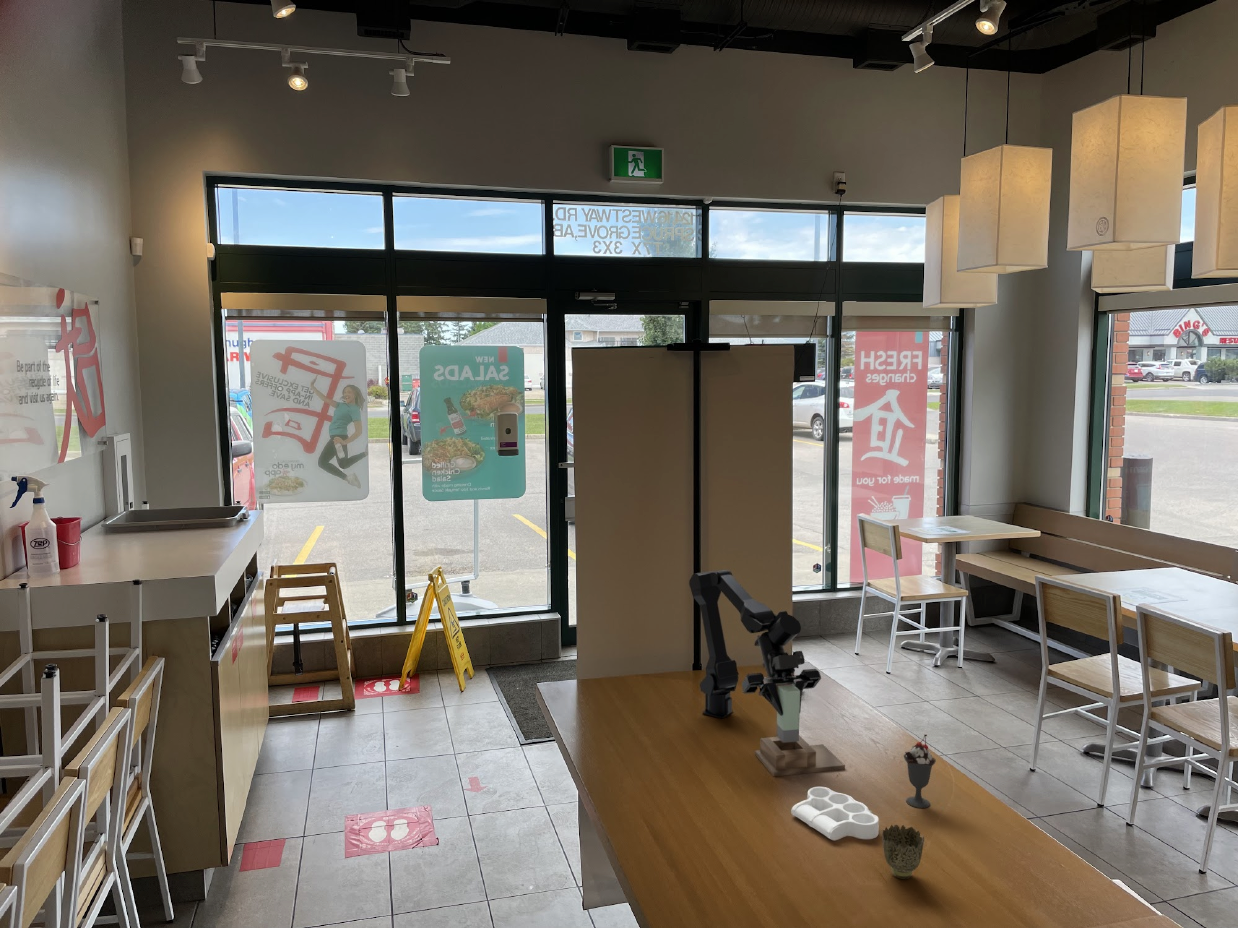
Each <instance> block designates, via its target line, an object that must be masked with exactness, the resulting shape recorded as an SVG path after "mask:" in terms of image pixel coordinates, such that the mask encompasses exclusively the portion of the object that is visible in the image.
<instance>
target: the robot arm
mask: <svg viewBox="0 0 1238 928" xmlns="http://www.w3.org/2000/svg"><path fill="white" fill-rule="evenodd" d="M688 585H689V588H690V591H691V596H692V598H693V599H694V600H695V601H696V603H697V604H698V605H699V606H700V614H701V619H702V624H703V628H704V634H705V640H706V646H707V651H708V656H709V657H708V659H707V660H708V661H707V663H706V667H705V677H704V678H703V679H702V680H701V681H700V682H699V689H700V692H702V693H703V694H705V695H704V697H705V698H704V700H705V701H704V710H703V711H702V714H703V715H706V716H710V717H714V718H718V719H724V718H726V717H727V716H729V715H730V714H732V713H733V712H734V710H733V705H732V704H733V698H732V697H731V692H736V688H737V685H738V682H739V675H740V674H739V671H738V667H737V662H736V660H735V659H733V660H732V659H731V658H730V657H729V655H728V652H727V646H726V640H725V635H724V629H723V624H722V619H721V614H720V609H719V608H720V607H719V599H720V597H721V593H722V594H723V595H724V596H725V597H726V599H728V601H729V602H730V603H731V604H732V606H733V607H735V609H736V610H737V611H738V612H739V614H740V622H741V623H742V625H743V626H744V628H745V630H746V631H747V632H748V633H749V634H756V633H760V634H761V635H757V638H756V640H755V641H754V645H753V646H755V647H759V649H760V652H761V657H762V660H763V663H762V667H763V669H765V671H766V674H767V676H764V674H763V673H762V672H754V673H753V672H751V673H747V674H746V676H745V678H744V679H743V681H742V683H741V688H742V691H743V692H742V693H743V694H755V693H756V692H757V691H758V689H759V691H758V696H762V697H763V698H765V699H766V700H767V701H768V703H769V704H770V705H771V706H772V707H773V708H774V709H775V711H776V713H777V712H778V713H779V714H780V716H782V715H783V710H782V706H781V703H780V700H779V697H778V694H777V689H776V685H783V684H791V685H794V686H795V687H796V688H798V689H799V690H800V712H801V710H802V707H801V706H802V694H803V690H809V689H814V688H815V687H816V686H817V685H818V684H819V682H820V681H821V679H822V676H821V673H820V671H819V670H818V669H816V668H807V669H806V668H805V669H802V670H801V672H800V673H799V674H796V675H795V671H796V669H799V667H800V666H801V665H804V664H805V663H806V662H805V661H806V660H805V656H804V653H803V650H796V651H793V652H792V654H789V653H788V651H787V652H786V651H785V646H787V645H788V644H790V643H791V642H792V640H793V639H795V637H796V636H798V635H799V634H800V633H801V629H802V625H801V623H800V621H799V620H797V618H796V617H794V616H793V615H790V614H789V613H788V611H787V610H782V611H779V612H778V613H777V614H776V613H774V611H773V610H772V609H771V608H770V607H768V606H767V605H766V604H764V603H762V602H760V601H757V600H755V599H753V597H752V596H751V595H750V594H749V593H748V592H747V590H746V589H745V588H744V587H743V586H742V585H741V584H740V582H738V581H737V579H736V578H735V577H734V576H733V574H732V571H730V570H728V569H723V570H722V569H721V570H715V571H714V570H713V571H712V570H710V571H704V572H697V573H693V574H692V575H691V577H690V579H689V581H688ZM761 632H762V633H761ZM791 673H794V675H793V676H792V674H791Z"/></svg>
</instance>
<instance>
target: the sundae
mask: <svg viewBox="0 0 1238 928" xmlns="http://www.w3.org/2000/svg"><path fill="white" fill-rule="evenodd" d="M927 737H928V734H923V738H922V739H921V741H917V742H916V744H915V745H912V747H911V748H910V750H909V751H905V752H904V754H903V758H904V760H905V762H906V764H907V775H908V780H909V783H910V784H911V785H912V786H913V787H914V788H915V794H914V796H909V797H907V798H906V800H905V802H906V803H907V805H909V806H911V807H912V808H916V809H926V808H929V807H930V806H931V802H930V801H929V800H928V799H926V798H924V797H922V789H923V788H926V787H927V786H928V784H929V782H930V779H931V772H932V767H933V766H934V765H935V763H936V762H937V760H936V758H935V757H933V755H932V753H931V752H930V750H928V749H929V746H928V745H927V740H926V739H927ZM923 741H924V744H923V743H922V742H923Z"/></svg>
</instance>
